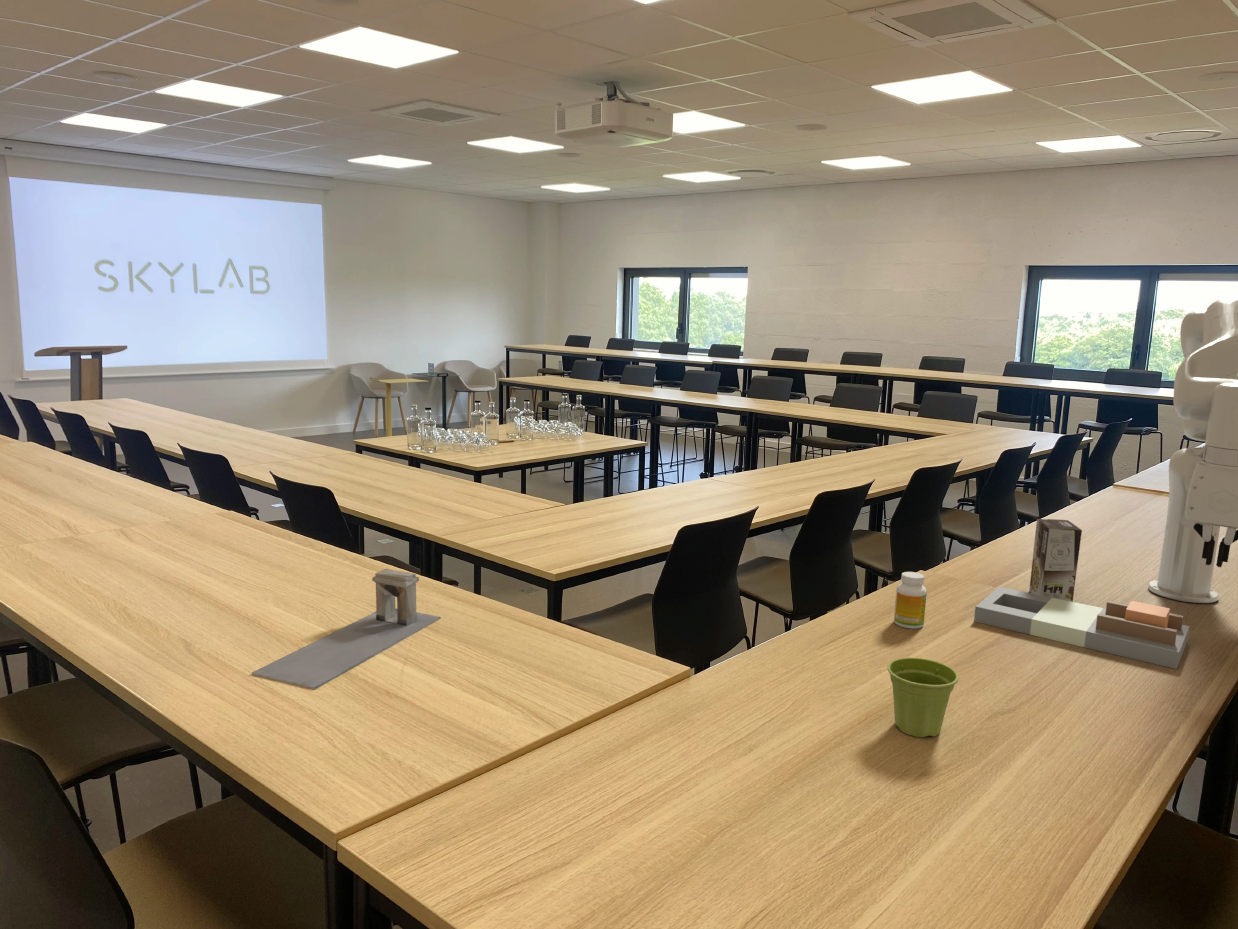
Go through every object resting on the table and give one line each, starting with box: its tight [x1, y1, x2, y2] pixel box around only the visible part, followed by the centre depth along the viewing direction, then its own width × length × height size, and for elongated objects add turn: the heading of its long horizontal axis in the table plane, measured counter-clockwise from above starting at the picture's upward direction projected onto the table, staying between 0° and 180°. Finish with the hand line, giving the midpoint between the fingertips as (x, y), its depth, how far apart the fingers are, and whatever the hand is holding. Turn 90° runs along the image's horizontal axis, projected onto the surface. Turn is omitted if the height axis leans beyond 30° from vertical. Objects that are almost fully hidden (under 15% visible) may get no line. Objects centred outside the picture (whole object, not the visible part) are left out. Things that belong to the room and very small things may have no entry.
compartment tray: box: [973, 586, 1191, 670], centre depth 160 cm, size 16×33×6 cm, turn 51°
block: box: [1125, 600, 1171, 628], centre depth 153 cm, size 6×6×4 cm
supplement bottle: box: [893, 571, 928, 630], centre depth 161 cm, size 5×5×10 cm
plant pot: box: [886, 656, 960, 738], centre depth 121 cm, size 9×9×9 cm
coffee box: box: [1028, 518, 1083, 602], centre depth 178 cm, size 9×6×16 cm
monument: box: [251, 568, 442, 690], centre depth 146 cm, size 12×33×10 cm, turn 158°
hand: (1214, 563), depth 146 cm, fingers closed
